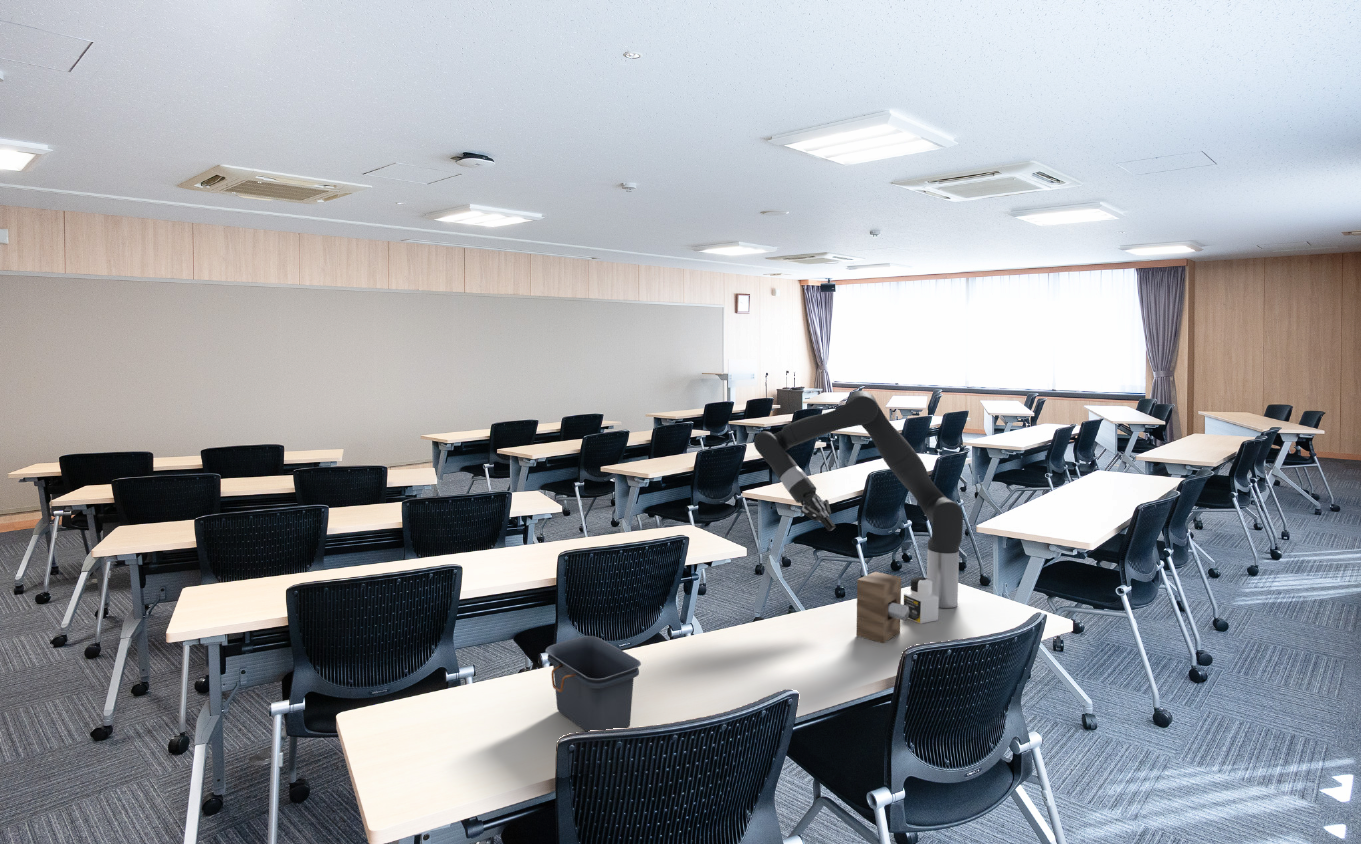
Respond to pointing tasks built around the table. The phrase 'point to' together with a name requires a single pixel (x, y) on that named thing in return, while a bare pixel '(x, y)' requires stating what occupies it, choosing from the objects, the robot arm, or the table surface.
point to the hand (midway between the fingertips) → (832, 529)
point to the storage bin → (593, 682)
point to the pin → (898, 611)
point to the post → (877, 606)
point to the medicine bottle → (921, 601)
